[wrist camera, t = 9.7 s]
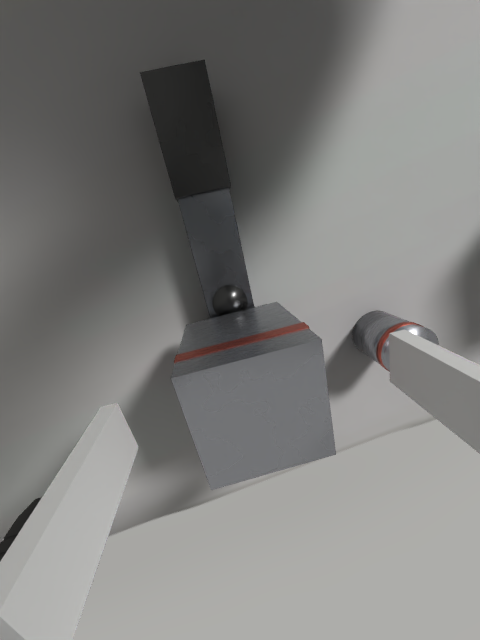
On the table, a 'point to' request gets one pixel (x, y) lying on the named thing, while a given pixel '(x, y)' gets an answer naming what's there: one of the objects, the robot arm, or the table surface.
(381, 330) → the socket small
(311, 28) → the table surface
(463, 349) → the table surface
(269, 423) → the socket
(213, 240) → the ratchet
